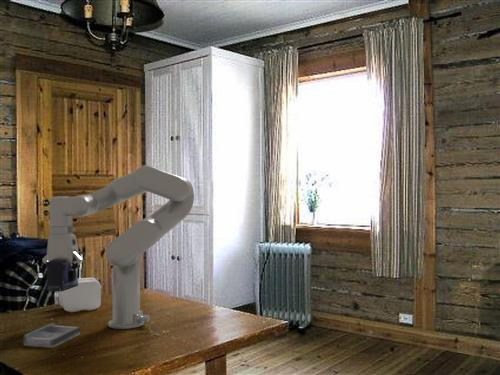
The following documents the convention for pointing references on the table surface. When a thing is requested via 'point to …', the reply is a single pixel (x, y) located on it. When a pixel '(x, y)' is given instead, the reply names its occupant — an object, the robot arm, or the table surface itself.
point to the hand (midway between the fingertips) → (62, 280)
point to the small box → (59, 276)
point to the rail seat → (50, 336)
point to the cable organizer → (81, 296)
